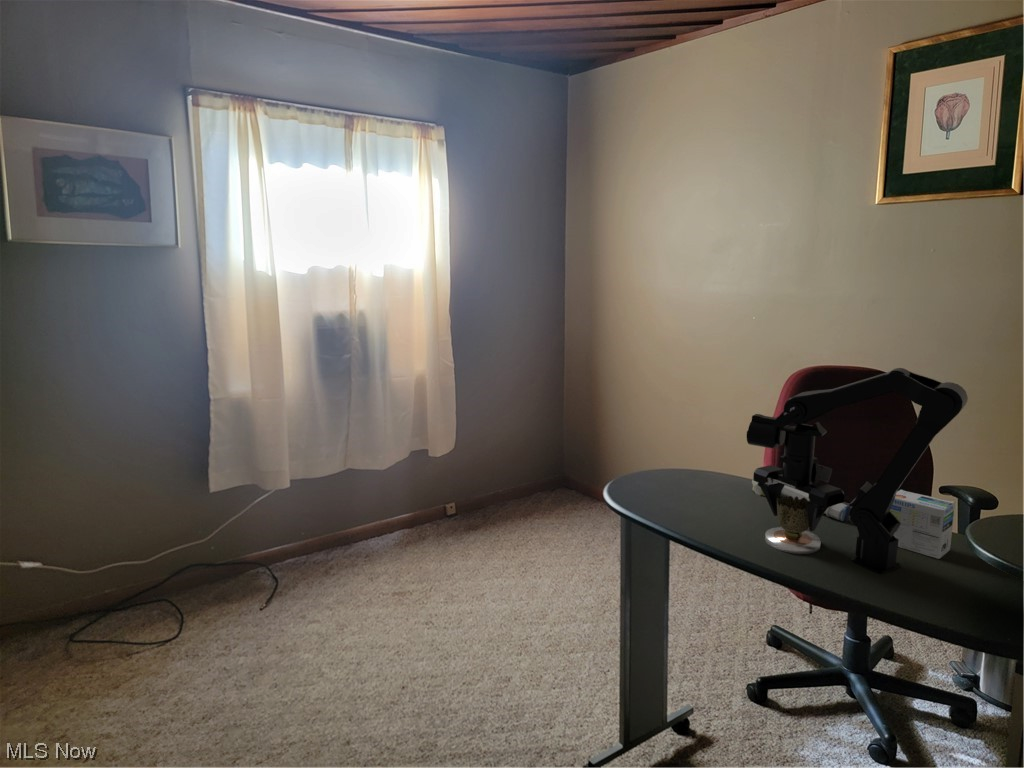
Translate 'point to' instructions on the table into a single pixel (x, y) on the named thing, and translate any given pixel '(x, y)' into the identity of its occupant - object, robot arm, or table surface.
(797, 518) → the cup
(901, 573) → the table surface
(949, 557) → the table surface
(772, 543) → the rosette plate
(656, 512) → the table surface
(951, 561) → the table surface
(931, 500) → the light bulb box
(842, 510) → the white long bar
